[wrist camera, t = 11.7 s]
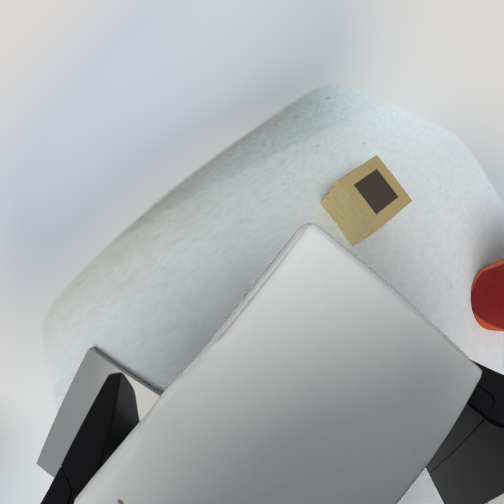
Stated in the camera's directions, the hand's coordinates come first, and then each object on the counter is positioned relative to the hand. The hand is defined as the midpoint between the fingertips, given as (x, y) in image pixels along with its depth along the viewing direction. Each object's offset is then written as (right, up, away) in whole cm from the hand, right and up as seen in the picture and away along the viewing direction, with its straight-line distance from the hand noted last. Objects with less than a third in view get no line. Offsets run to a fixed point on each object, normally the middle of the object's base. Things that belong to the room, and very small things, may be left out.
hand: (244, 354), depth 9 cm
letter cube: (+8, +6, +15) cm, 18 cm away
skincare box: (0, -3, +7) cm, 7 cm away
